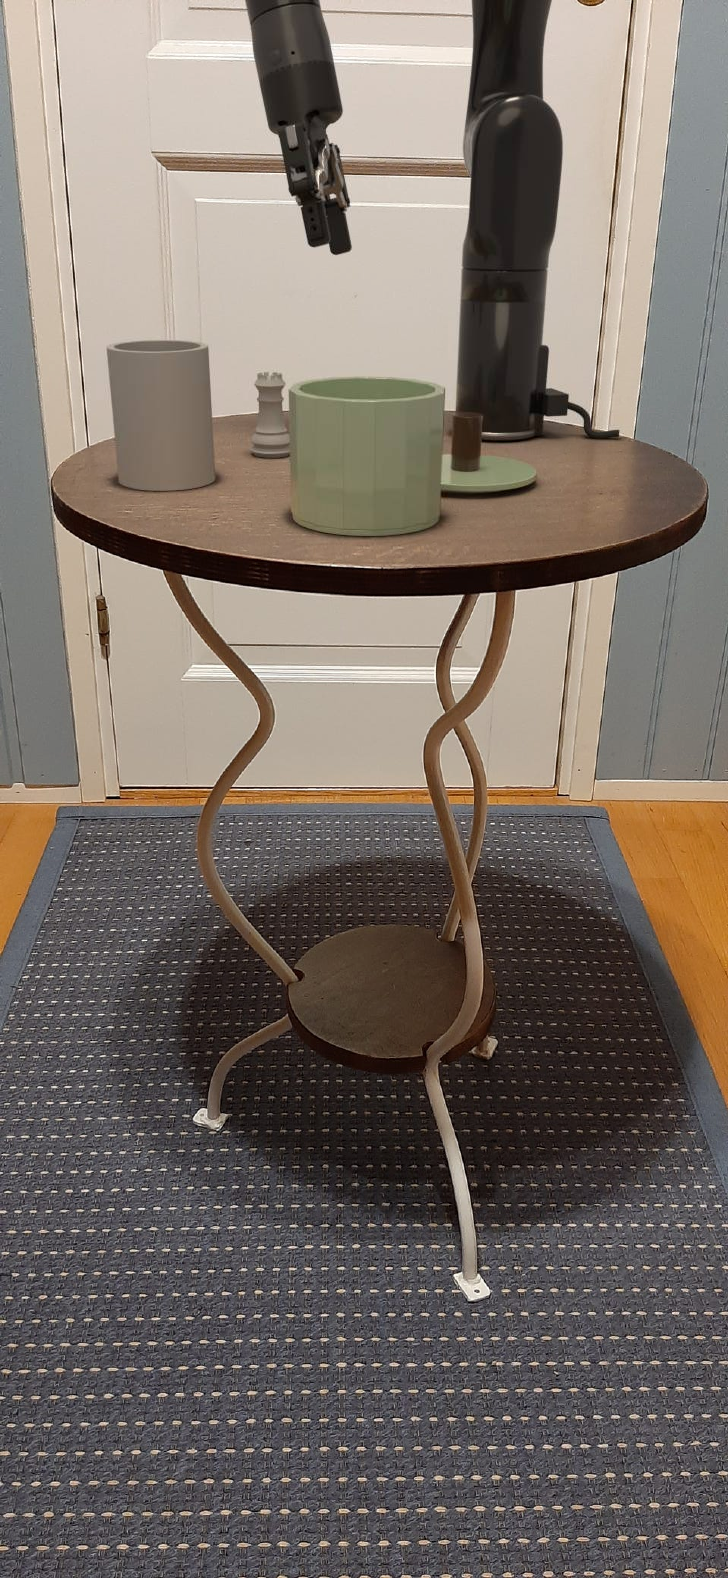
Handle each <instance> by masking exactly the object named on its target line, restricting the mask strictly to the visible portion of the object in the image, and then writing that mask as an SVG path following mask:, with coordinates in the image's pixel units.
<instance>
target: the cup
mask: <svg viewBox="0 0 728 1578" xmlns="http://www.w3.org/2000/svg"><path fill="white" fill-rule="evenodd" d="M209 351H210V349H209V344H207V343H205V342H200V341H193V340H180V339H143V340H129V341H121V342H115V343H110V344H108V345H107V346H106V356H107V368H108V378H109V379H108V380H109V389H110V391H109V392H110V400H111V411H112V423H113V433H114V443H115V444H114V445H115V455H116V466H117V477H118V484H120V485H121V486H123V487H125V488H129V489H134V490H140V491H141V490H142V491H152V492H153V491H154V492H155V491H156V492H167V491H169V492H171V491H185V490H190V489H196V488H197V489H198V488H200V487H206V486H208V485H210V484H213V483H214V482H215V480H216V465H215V463H216V462H215V445H214V428H213V427H214V426H213V409H212V407H213V406H212V389H211V388H212V387H211V371H210V370H211V369H210V352H209Z"/></svg>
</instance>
